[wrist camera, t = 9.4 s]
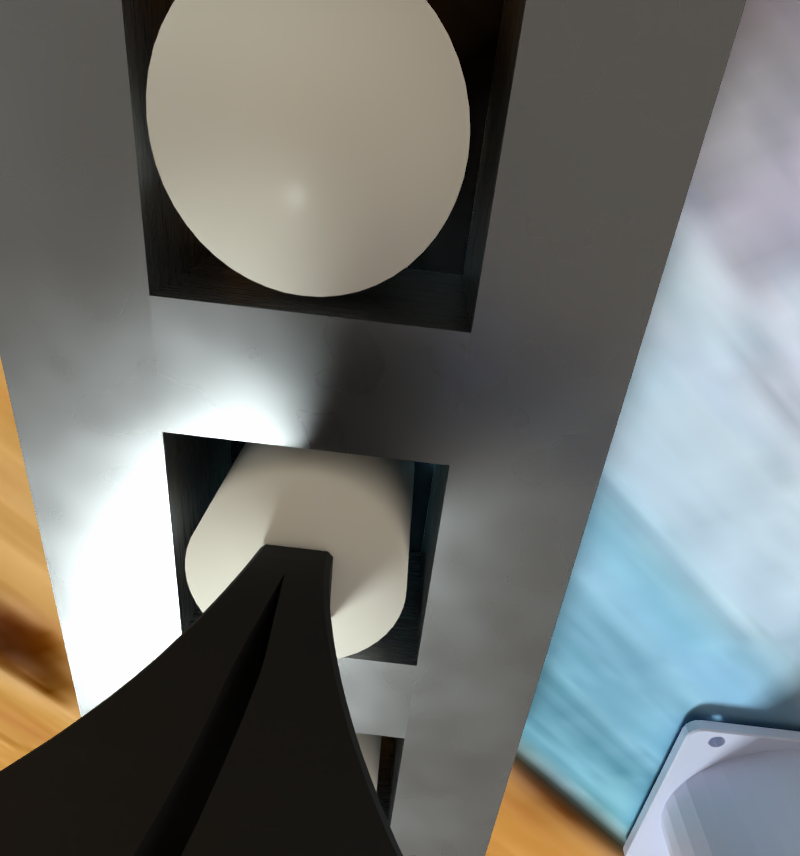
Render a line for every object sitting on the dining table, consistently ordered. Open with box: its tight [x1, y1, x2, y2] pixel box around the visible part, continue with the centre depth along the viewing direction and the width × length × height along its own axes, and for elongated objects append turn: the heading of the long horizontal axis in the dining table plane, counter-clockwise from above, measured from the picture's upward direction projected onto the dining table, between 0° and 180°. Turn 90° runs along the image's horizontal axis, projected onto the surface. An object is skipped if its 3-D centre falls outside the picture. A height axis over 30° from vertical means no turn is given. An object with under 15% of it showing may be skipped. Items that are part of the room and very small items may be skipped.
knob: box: [146, 0, 470, 297], centre depth 10 cm, size 4×4×4 cm
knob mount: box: [0, 0, 746, 856], centre depth 14 cm, size 11×24×4 cm, turn 174°
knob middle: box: [185, 442, 415, 659], centre depth 14 cm, size 4×4×4 cm
